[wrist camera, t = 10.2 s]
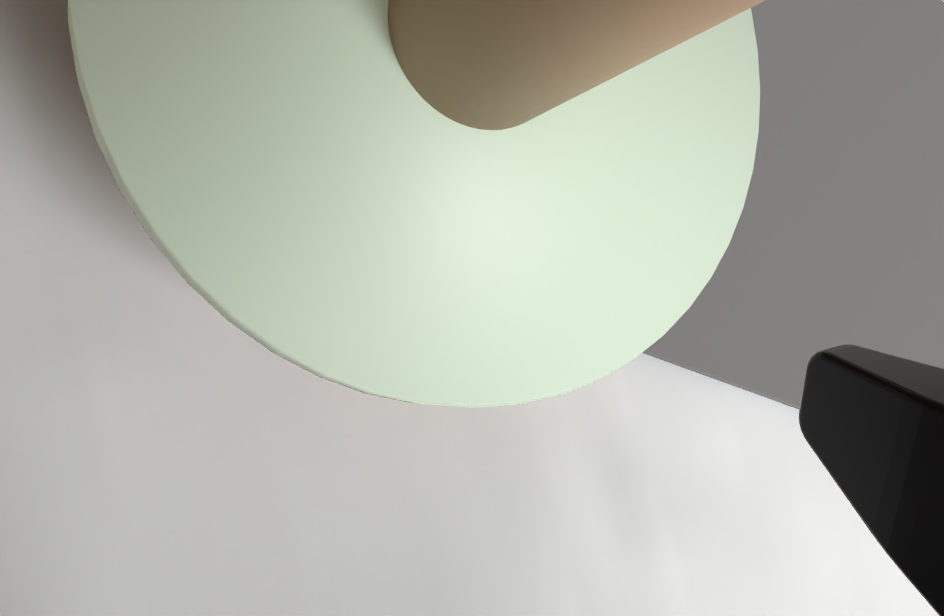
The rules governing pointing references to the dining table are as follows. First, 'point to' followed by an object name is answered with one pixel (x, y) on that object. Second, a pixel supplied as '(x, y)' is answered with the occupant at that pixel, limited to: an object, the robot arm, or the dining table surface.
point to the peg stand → (432, 175)
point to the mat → (832, 200)
